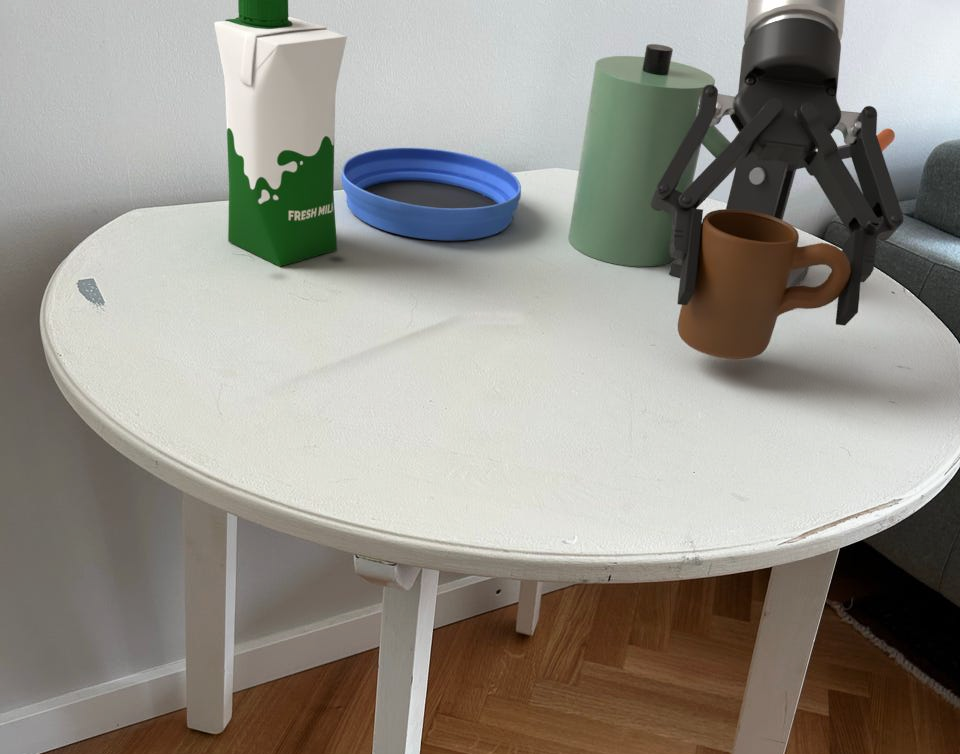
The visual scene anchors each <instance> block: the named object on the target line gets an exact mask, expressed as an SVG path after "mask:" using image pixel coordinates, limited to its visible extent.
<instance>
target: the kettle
mask: <svg viewBox="0 0 960 754" xmlns="http://www.w3.org/2000/svg"><path fill="white" fill-rule="evenodd" d="M673 51H674V49H673V48H672V47H670V46H668V45H664V44H659V43H656V44H655V43H649V44H647V45H646V47H645V52H644V56H635V55H617V56H606V57H603V58H600V59H597V60H596V61H595V64H594V72H593V78H592V83H591V91H590V97H589V103H588V109H587V116H586V122H585V129H584V135H583V140H582V141H583V142H582V148H581V155H580V161H579V167H578V174H577V179H576V187H575V192H574V199H573V206H572V212H571V218H570V225H569V232H568V241H569V243H570V245H571V246H572V247H573V248H574V249H575V250H577V251H578V252H579V253H581V254H583V255H586V256H587V257H590V258H593V259H595V260H598V261H602V262H605V263H609V264H614V265H618V266H626V267H641V268H642V267H643V268H644V267H646V268H647V267H658V266H662V265H666V264H668V263H672V262H673V261H674V260H675V259H676V258H671V255H670V241H671V232H672V223H671V220H670V219H671V216H670V215H669V214H668V213H667V212H665V211H663V210H661V211H656V210H654V209H653V208H652V207H651V200H652V197H653V195H654V192H655V190H656V187H657V185H658V183H659V181H660V179H661V178H662V176H663V174H664V172H665V171H666V169H667V167H668V165H669V164H670V162H671V160H672V158H673V157H674V155H675V153H676V151H677V150H678V148H679V146H680V144H681V143H682V141H683V139H684V137H685V136H686V134H687V132H688V130H689V129H690V127H691V125H692V123H693V122H694V115H695V109H696V106H697V103H698V101H699V98H700V96H701V93H702V91H703V88H704V87H705V86H706V85H714V86H715V84H716V79H715V78H714V77H713V76H712V75H711V74H710V73H708V72H705V71H704V70H703V69H699V68H696V67H694V66H692V65H687V64H684V63H680V62H676V61H672V57H673ZM730 143H731V141H730V140H729V139H728V138H727V137H726V136H725V135H724V134H723V133H722V132H721V131H720V130H719V129H718V128H717V127H716V125H714V126H709V128H708V131H707V133H706V135H705V137H704V139H703V141H702V143H701V145H700V147H699V148H698V150H697V152H696V154H695V155H694V157H693V159H692V161H691V162H690V164H689V166H688V168H687V170H686V171H685V173H684V175H683V177H682V178H681V180H680V182H679V184H678V185H677V187H676V189H675V190H677V191H679V192H681V193H683V192H684V191H685V190H686V189H687V188H688V187H689V186H690V185H691V184H692V183H693V182H694V180H695V174H696V172H697V171H696V170H697V165H698V161H699V156H700V151H701V148H702V146H703V147H704V148H705V149H706V150H707V151H708V152H709V153H710V154H711V155H712V157H714V159H716V158H717V157H718V156H719V154H720V153H721V152H722V151H723V150H724V149H725V148H726V147H727V146H728V145H729V144H730Z"/></svg>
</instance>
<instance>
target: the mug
mask: <svg viewBox="0 0 960 754" xmlns="http://www.w3.org/2000/svg"><path fill="white" fill-rule="evenodd" d="M799 239H800V235H799V232H798V230H797V229H796V228H795V227H794V226H793V225H792V224H790V223H788V222H787V221H784V220H780V219H778V218H775V217H773V216H769V215H766V214H762V213H758V212H753V211H747V210H738V209H726V208H725V209H715V210H712V211H710V212H708V213H706V214H705V216H704V217H702V226H701V235H700V245H699V255H698V264H697V274H696V284H695V292H694V294H693V295H692V297H691V299H690V301H689V303H688V304H687V305H680V311H679V315H678V321H677V331H678V335H679V337H680V339H681V340H682V341H683V342H684V343H685V344H686V345H687V346H689V347H690V348H692V349H694V350H695V351H698V352H700V353H701V354H705V355H708V356H710V357H714V358H718V359H719V358H720V359H727V360H747V359H752V358H755V357H757V356H759V355H761V354H762V353H764V351H766V349H767V348H768V346H769V344H770V341H771V339H772V336H773V333H774V330H775V326H776V322H777V320H778V317H779V316H781V315H783V314H785V313H787V312H790V311H794V310H795V309H803V310H804V309H805V310H814V309H820V308H823V307H825V306H828V305H829V304H831V303H833V302H834V301H835V300H836V299H838V297H839V296H840V294H841V293H842V292H843V291H844V289H845V288H846V286H847V284H848V282H849V278H850V274H851V268H850V262H849V260H848V258H847V256H846V254H845V253H844V252H843V251H842V249H840V248H838V247H837V246H835V245H832V244H830V243H825V242H819V243H813V244H808V245H803V246H798V244H799ZM815 266H827V267H829V268H830V269H831V270H830V274H829V275H828V277H827V278H826V279H825V281H823V282H822V283H821V284H819V285H815V286H810V285H802V284H801V285H799V284H798V285H797V286H792V287H788V288H786V287H787V283H788V280H789V276H790V273H791V271H792V270H794V269H799V268H804V267H809V268H811V267H815Z"/></svg>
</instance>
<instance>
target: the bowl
mask: <svg viewBox="0 0 960 754" xmlns="http://www.w3.org/2000/svg"><path fill="white" fill-rule="evenodd" d="M340 180H341V183H342V189H343V191H344V193H345V195H346V205H347V207H348V209H349V210H350V212H351V213H352V214H353V215H354V216H355V217H356V218H358V219H359V220H360V221H362V222H364V223H365V224H368V225H369V226H371V227H374V228H376V229H380V230H382V231H385V232H388V233H392V234H396V235H399V236H404V237H409V238H415V239H420V240H421V239H422V240H432V241H447V242H449V241H469V240H470V241H471V240H476V239H482V238H486V237H490V236H494V235H496V234H499V233H501V232H502V231H504V230H505V229H506V228H507V227H509V225H510V224H511V223H512V221H513V216H514V213H515V211H516V210H517V208H518V206H519V202H520V200H521V197H522V185H521V182H520V180H519V179H518V178H517V176H516V175H515V174H513V173H512V172H511V171H510V170H508V169H507V168H505V167H503V166H501V165H499V164H497V163H494V162H492V161H489V160H486V159H484V158H481V157H478V156H474V155H470V154H465V153H462V152H457V151H451V150H445V149H436V148H425V147H389V148H387V147H386V148H379V149H373V150H368V151H364V152H361V153H358V154H356V155H353V156H351V157H350V158H349V159H347V160H346V161H345V162H344V164H343V165H342V168H341V177H340Z"/></svg>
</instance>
